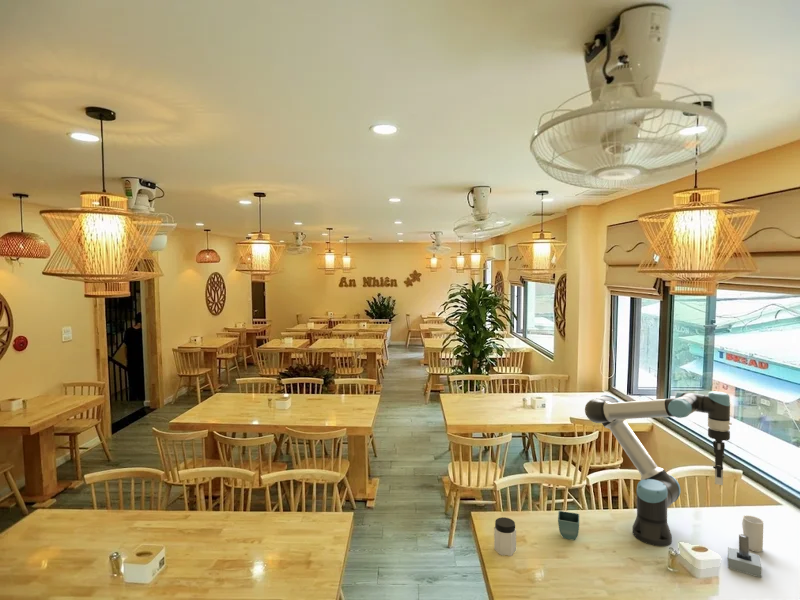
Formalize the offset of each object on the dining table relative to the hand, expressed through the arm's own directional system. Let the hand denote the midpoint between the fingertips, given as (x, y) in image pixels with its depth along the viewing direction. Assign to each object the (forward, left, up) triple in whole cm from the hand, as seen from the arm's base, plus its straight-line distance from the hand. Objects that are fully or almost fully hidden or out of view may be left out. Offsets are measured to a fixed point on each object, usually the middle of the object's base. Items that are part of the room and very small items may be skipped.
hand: (718, 478), depth 187 cm
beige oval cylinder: (+11, +8, -29) cm, 32 cm away
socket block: (+8, -12, -29) cm, 32 cm away
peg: (+8, -12, -29) cm, 32 cm away
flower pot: (-54, -29, -29) cm, 68 cm away
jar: (-73, -55, -29) cm, 96 cm away
